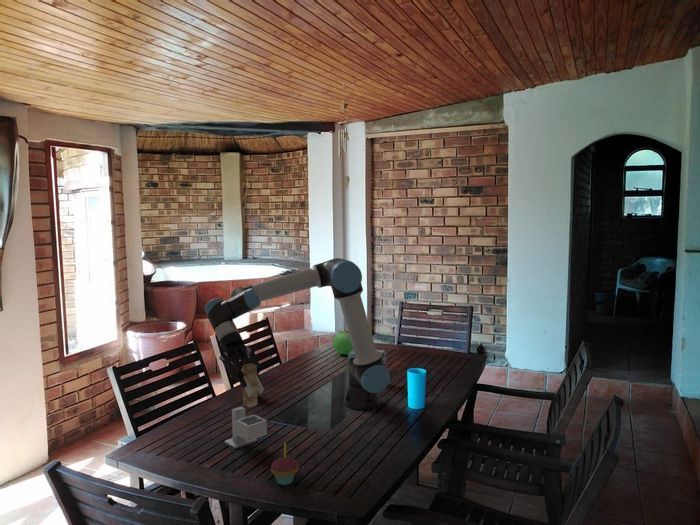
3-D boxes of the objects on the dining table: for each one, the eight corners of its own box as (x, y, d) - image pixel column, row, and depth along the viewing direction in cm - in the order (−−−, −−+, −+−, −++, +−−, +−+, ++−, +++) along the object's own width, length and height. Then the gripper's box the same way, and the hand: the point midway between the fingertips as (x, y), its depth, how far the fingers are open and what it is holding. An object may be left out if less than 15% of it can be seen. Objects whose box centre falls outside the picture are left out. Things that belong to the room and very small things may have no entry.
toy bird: (331, 357, 299) (330, 331, 297) (336, 349, 315) (336, 325, 314) (362, 358, 296) (362, 332, 294) (366, 351, 312) (366, 326, 311)
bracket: (224, 442, 188) (223, 410, 187) (246, 435, 194) (245, 403, 193) (247, 456, 178) (246, 421, 177) (269, 447, 184) (268, 414, 183)
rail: (243, 405, 182) (242, 365, 181) (251, 402, 185) (250, 363, 183) (248, 407, 180) (248, 367, 178) (257, 405, 182) (256, 365, 181)
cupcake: (272, 475, 165) (271, 437, 164) (299, 473, 166) (298, 436, 164) (270, 489, 156) (269, 450, 155) (299, 487, 157) (298, 449, 156)
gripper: (245, 339, 197) (272, 393, 187) (204, 347, 186) (231, 405, 175) (252, 327, 193) (280, 382, 182) (212, 334, 181) (239, 393, 171)
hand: (256, 393), depth 179 cm, fingers closed on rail, 3 cm apart
